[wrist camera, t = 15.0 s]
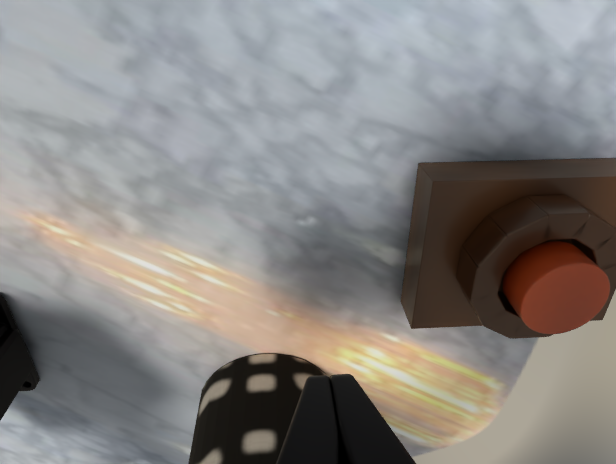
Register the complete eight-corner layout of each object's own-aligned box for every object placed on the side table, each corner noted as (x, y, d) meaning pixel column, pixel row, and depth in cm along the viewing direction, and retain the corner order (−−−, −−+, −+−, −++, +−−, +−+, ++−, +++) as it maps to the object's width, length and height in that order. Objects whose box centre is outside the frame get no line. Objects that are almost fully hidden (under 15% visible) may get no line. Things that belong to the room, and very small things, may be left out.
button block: (400, 301, 24) (421, 355, 21) (417, 162, 20) (447, 200, 17) (577, 294, 25) (626, 345, 21) (628, 157, 21) (699, 192, 17)
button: (494, 309, 20) (512, 336, 19) (511, 241, 18) (533, 265, 17) (570, 306, 20) (594, 332, 19) (595, 238, 19) (624, 262, 17)
